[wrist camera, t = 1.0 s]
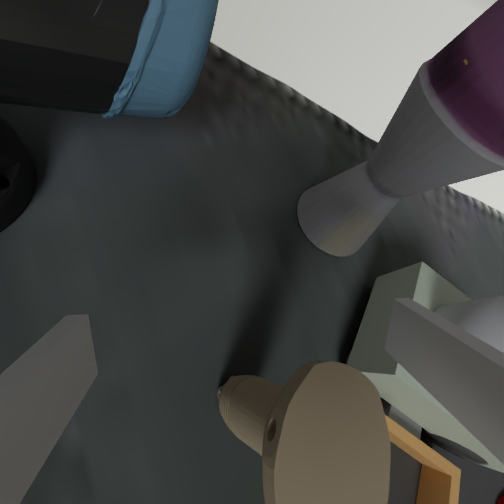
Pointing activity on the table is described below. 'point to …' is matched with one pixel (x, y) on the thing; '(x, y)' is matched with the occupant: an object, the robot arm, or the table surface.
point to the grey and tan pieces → (410, 390)
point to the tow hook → (501, 500)
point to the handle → (313, 434)
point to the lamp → (421, 140)
